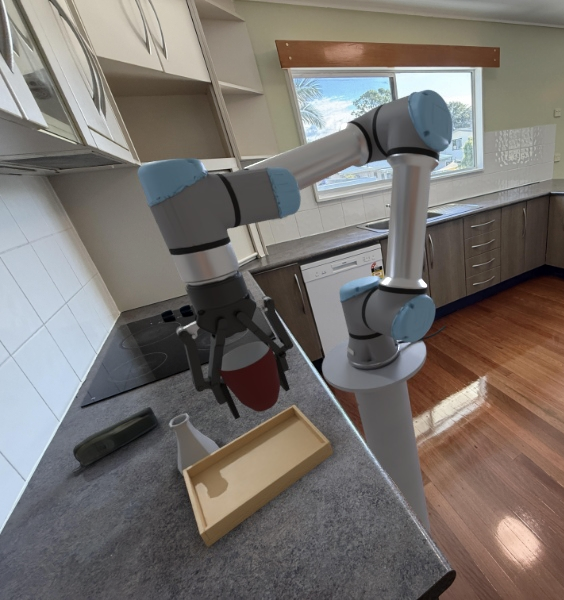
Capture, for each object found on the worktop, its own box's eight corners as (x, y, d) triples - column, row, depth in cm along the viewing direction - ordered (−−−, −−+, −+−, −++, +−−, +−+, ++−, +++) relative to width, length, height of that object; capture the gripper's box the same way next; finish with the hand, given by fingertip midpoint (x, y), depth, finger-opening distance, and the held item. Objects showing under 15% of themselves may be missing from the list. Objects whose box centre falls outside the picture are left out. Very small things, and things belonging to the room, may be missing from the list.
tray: (297, 414, 68) (294, 404, 67) (333, 453, 57) (329, 441, 56) (188, 482, 56) (182, 470, 55) (208, 547, 45) (200, 534, 44)
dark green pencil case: (148, 403, 72) (58, 450, 61) (152, 408, 70) (61, 457, 59) (157, 420, 74) (71, 469, 63) (161, 425, 72) (74, 476, 61)
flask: (219, 437, 65) (201, 400, 61) (221, 461, 59) (200, 422, 55) (179, 456, 62) (157, 417, 58) (177, 483, 56) (152, 442, 52)
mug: (224, 407, 54) (199, 360, 50) (264, 379, 60) (245, 335, 56) (258, 428, 48) (233, 376, 44) (299, 394, 54) (280, 346, 50)
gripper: (272, 254, 54) (306, 364, 63) (122, 296, 42) (190, 424, 51) (290, 259, 49) (324, 378, 57) (124, 309, 37) (199, 450, 45)
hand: (261, 400), depth 54 cm, fingers closed on mug, 8 cm apart
